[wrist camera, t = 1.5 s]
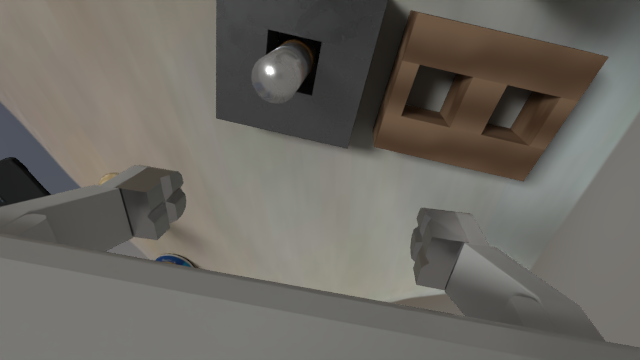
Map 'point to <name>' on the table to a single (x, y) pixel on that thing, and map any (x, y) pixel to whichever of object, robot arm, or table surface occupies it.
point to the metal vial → (283, 70)
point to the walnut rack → (481, 95)
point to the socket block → (311, 98)
